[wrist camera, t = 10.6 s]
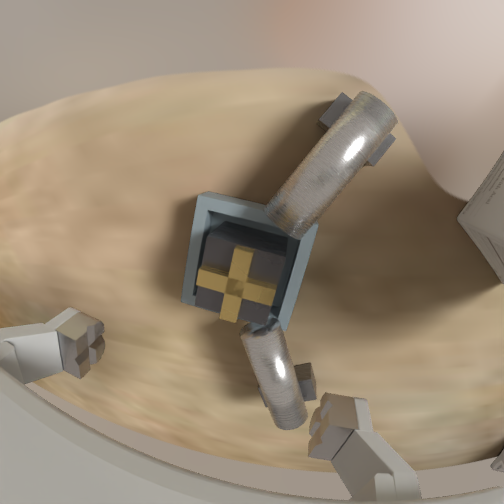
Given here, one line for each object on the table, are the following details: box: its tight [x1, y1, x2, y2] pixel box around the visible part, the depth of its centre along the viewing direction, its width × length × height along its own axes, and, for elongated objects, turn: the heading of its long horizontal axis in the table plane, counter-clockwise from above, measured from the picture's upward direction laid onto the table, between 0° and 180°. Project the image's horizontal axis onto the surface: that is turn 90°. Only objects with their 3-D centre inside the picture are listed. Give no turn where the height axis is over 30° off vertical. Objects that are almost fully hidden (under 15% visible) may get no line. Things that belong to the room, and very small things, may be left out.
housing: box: [181, 191, 318, 331], centre depth 21 cm, size 8×8×2 cm
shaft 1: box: [240, 318, 317, 430], centre depth 22 cm, size 9×4×5 cm, turn 17°
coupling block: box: [195, 221, 288, 326], centre depth 19 cm, size 4×4×5 cm
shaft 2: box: [263, 91, 398, 240], centre depth 17 cm, size 9×4×5 cm, turn 142°
